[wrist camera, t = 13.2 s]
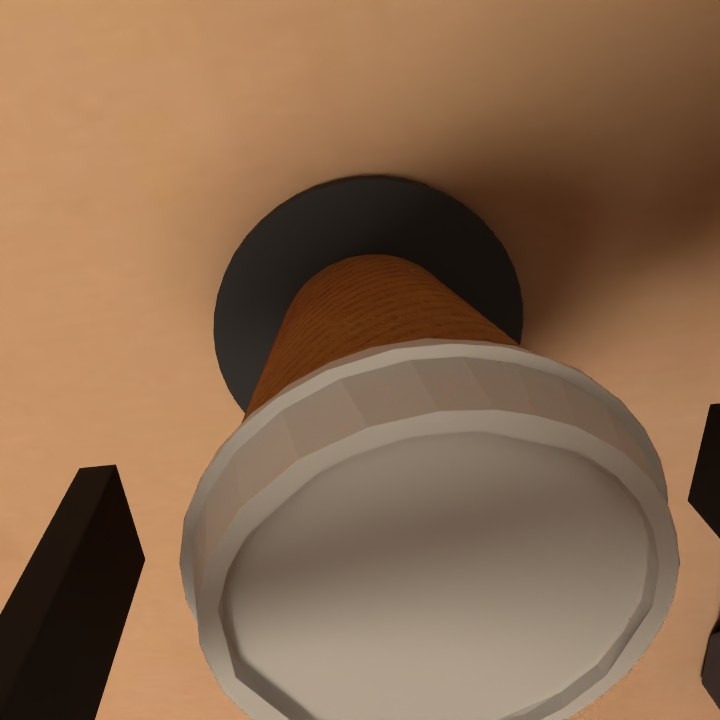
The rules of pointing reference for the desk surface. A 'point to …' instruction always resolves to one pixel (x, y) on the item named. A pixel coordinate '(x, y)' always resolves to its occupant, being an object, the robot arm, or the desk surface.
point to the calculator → (713, 669)
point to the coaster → (348, 239)
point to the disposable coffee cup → (424, 518)
